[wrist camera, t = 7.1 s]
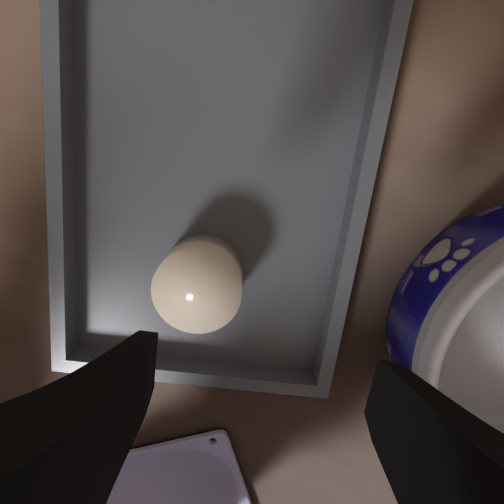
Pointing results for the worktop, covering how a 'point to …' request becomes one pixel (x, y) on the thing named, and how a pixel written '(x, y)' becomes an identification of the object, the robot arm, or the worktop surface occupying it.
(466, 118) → the worktop surface
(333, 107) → the parts tray
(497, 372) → the dog bowl
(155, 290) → the pebble
